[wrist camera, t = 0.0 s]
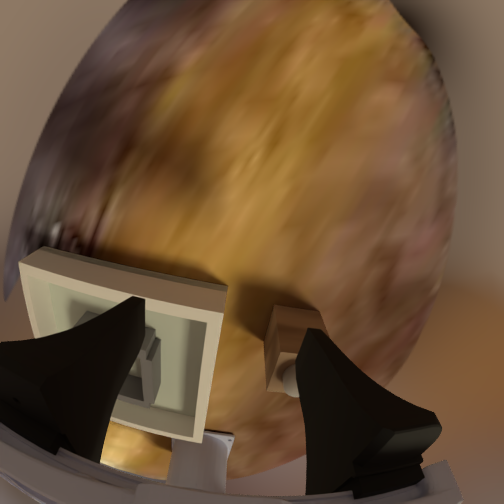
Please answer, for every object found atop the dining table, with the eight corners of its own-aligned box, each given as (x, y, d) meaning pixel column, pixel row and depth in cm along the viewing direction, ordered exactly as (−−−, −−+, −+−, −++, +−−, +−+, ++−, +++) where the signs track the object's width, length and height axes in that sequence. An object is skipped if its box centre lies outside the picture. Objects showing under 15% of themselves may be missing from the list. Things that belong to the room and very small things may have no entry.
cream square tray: (205, 416, 28) (201, 443, 25) (69, 378, 27) (56, 398, 23) (227, 286, 22) (223, 313, 18) (44, 245, 21) (18, 261, 17)
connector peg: (305, 346, 25) (319, 404, 18) (263, 341, 24) (267, 400, 18) (319, 311, 23) (340, 366, 17) (274, 304, 23) (281, 362, 16)
